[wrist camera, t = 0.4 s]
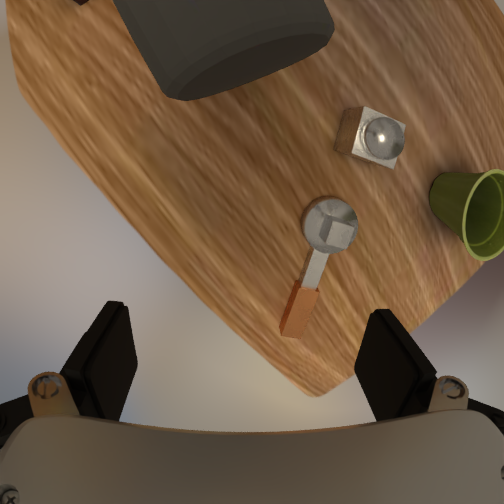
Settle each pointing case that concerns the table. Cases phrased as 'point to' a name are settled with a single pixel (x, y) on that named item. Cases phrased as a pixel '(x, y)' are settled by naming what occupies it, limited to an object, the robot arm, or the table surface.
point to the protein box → (80, 1)
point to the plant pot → (472, 209)
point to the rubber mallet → (222, 40)
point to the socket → (370, 136)
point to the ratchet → (317, 256)
